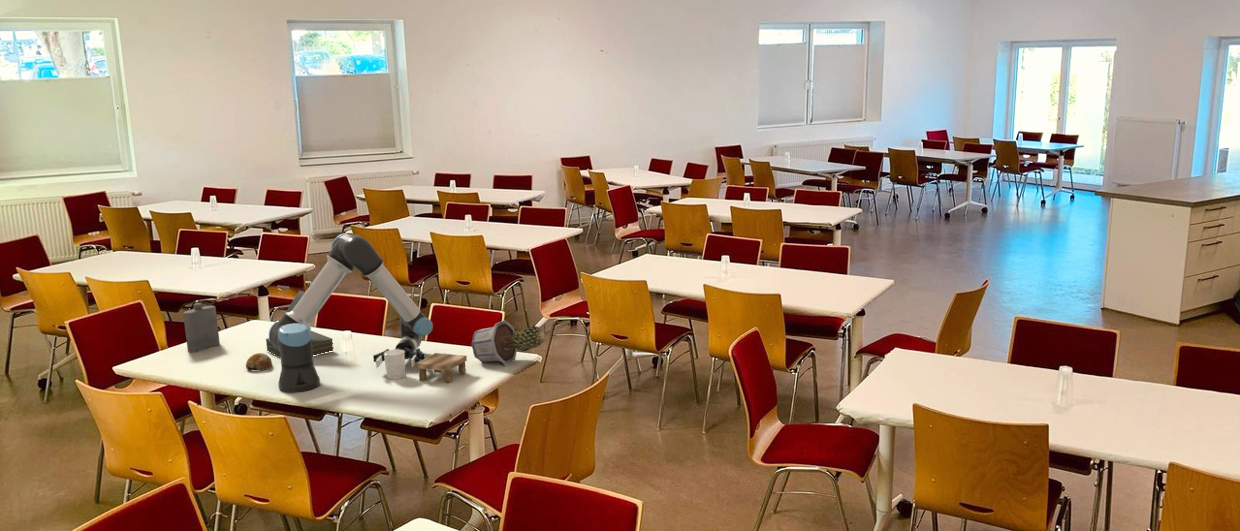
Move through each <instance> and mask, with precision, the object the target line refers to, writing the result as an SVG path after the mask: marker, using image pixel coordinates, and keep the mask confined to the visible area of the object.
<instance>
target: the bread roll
mask: <svg viewBox="0 0 1240 531" xmlns="http://www.w3.org/2000/svg"><path fill="white" fill-rule="evenodd" d="M270 367H271V368H272V367H273V362H272V359H271V357H270V356H269V355H267V354H266V353H263V352H258V353H254V354H252V355H251V356H249V358H248V359H247V360H246V363H245V368H246V370H247V369H248V370H247V371H249V370H261V371H264V370H263V369H266V370H268V369H267V368H269V369H271V368H270Z"/></svg>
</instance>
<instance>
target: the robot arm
mask: <svg viewBox="0 0 1240 531" xmlns="http://www.w3.org/2000/svg"><path fill="white" fill-rule="evenodd" d="M326 259H327V262H326V263H325V264H324V265H323V267H322V268H321V270H320V271H319V272H318V274H317V275H316V277H315V278H314V280H313V281H311V282H312V283H311V284H310V285H309V287H308V288H307V289H306V290H305V291H304V292H305V293H304V295H303V296H302V298H301V299H300V300H299V302H298V303H297V304H296V306H295V307H294V309H293V310H292V311H291V312H287V313H286V312H285V313H284V314H283V316H282V317H281V319H279V320H277V321H274V323H273V324H272V325H271V326H270V328H269V331H268V338H269V339H270V342H271V344H272V346H273V347H274V348H275V349H277V350H278V351H279V352H280V356H281V358H280V364H281V365H280V366H281V370H280V374H279V380H278V390H279V389H280V390H279V391H281V392H283V391H285V393H300V392H306V391H310V390H314V389H316V388H318V387H320V385H321V378H320V376H319V375H318V372H317V370H316V367H315V365H314V357H313V352H312V341H311V332H310V330H311V331H312V327H311V323H312V322H313V321H314V320H315V317H317V315H318V313H319V312H320V311H321V309H322V308H323V306H324V305H326V302H327V301H328V299H329V298H330V297H331V295H332V294H333V292H335V290H336V289H337V287H338V285H339V284H340V283H341V281H342V280H343V279H344V277H345V276H346V274H350V273H353V271H354V270H355V269H356V270H358V272H360V273H361V275H362V276H363V277H367V278H368V279H369V281H370V282H372V284H373V285H374V287H376V288H377V290H378V291H379V292H380V293H381V294H382V296H383V297H384V298H385V299H386V300H387V302H388V303H389V304H390V305H391V306H392V308H394V310H395V311H396V313H398V314H399V323H400V335H401V338H400V341H398V343H397V344H396V346H395V348H394V350H404V351H405V360H408V359H409V360H410V362H411V363H410V364H411V366H410V367H413V368H414V367H415V365H416V364H417V363H418V362H420V361H422V360H423V359H425V358H426V356H425V353H424V352H423V351H422V350H421V348H419V347H420V345H421V344H422V339H423V337H424V336H428V335H429V334H430V333H431V332H433V321H432V320H430V319H429V318H428V317H426V316H425V314H424V312H422V311H421V309H420V308H419V306H418V305H417V304H416V303H415V302H414V301H413V300H412V298H411V297H410V296H409V295H408V294H407V292H406V291H405V289H404V288H403V287H402V285H400V283H399V282H398V281H397V280H396V279H395V277H394V276H393V274H392V273H390V271H389V270H388V269H387V267H386V266H385V265H384V260H383V258H382V257H381V256H380V254H379V253H378V252H377V250H376V249H375V248H374V246H373V244H371V242H370V241H369V240H368V239H366V238H365V237H363V236H360V235H359V234H356V233H353V232H345V233H342V234H341V233H340V234H339V235H338V236H335V238H334V240H333V242H332V243H331V250H330V251H329V252H328V254H326ZM389 350H390V348H387V349H385V350H384V351H381V352H379V353H376V354H373V355H372V356H373V362H374V363H375V365H376V366H375V367H376V368H379V367H380V366H381V365H382V363H383V362H385V359H384V352H386V351H389Z"/></svg>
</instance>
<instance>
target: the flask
mask: <svg viewBox="0 0 1240 531" xmlns="http://www.w3.org/2000/svg"><path fill="white" fill-rule="evenodd" d="M182 316H183V323H184V331H185V339H186V346H187V348H186V349H187V352H189V353H197V352H199V350H200V351H201V350H205V349H207V348H208V349H209V348H212V346H213V347H216V346H219V345H220V335H219V326H218V325H219V324H218V316H217V308H216V306H215V305H206V306H205V305H204V306H203V303H201V302H197V303H196V302H195V303H194V304H193V308H192V309H188V310H186V311H184V312H183V314H182Z"/></svg>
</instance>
